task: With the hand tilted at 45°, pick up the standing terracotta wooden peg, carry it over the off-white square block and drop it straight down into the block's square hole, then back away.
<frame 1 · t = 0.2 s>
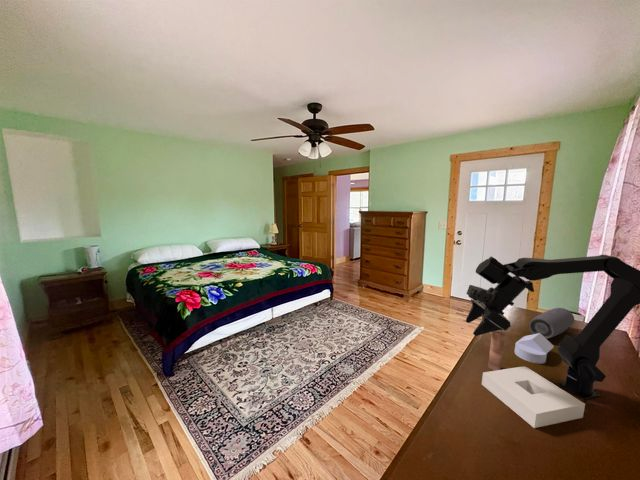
hand: (470, 328, 84), 15 cm above the dresser, tool tilted 35°, fingers open, 9 cm apart
wedge on round base: (531, 354, 96), on the dresser
hole block: (528, 399, 74), on the dresser
bluetooth speaker: (550, 334, 112), on the dresser
peg: (494, 367, 88), on the dresser
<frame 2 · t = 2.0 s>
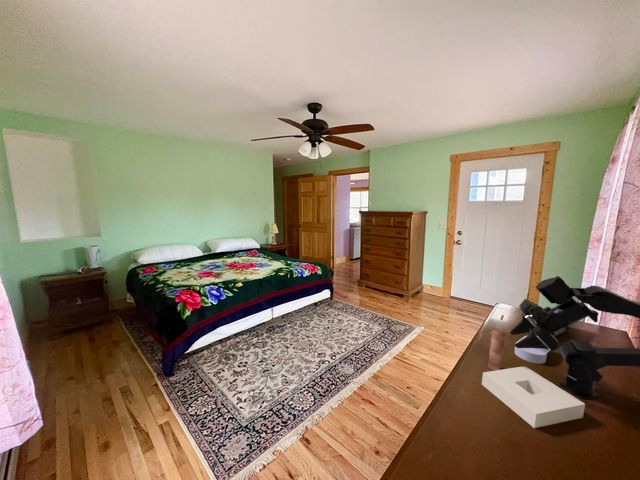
hand: (513, 339, 84), 11 cm above the dresser, tool tilted 45°, fingers open, 9 cm apart
nothing on the dresser moved.
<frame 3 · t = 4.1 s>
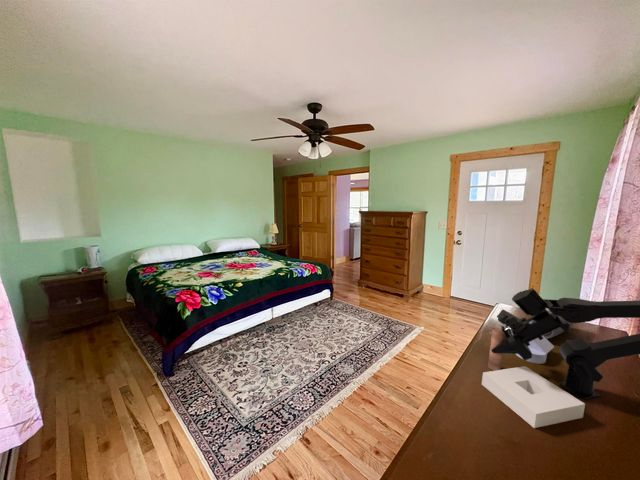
hand: (491, 348, 88), 7 cm above the dresser, tool tilted 45°, fingers closed on peg, 4 cm apart
peg: (494, 367, 88), on the dresser, touching gripper
everything else where it was.
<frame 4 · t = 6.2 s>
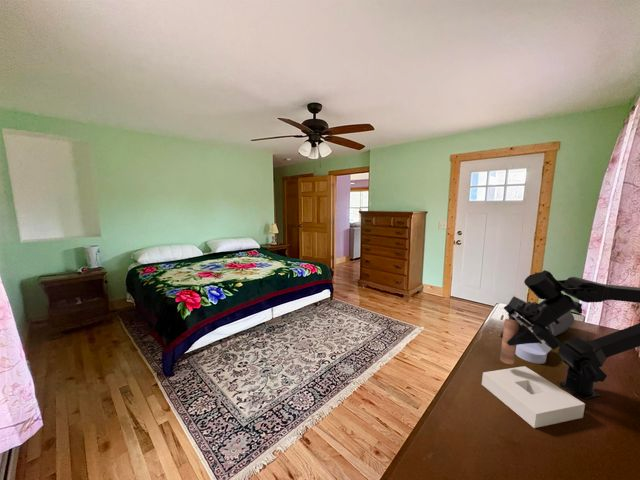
hand: (504, 340, 80), 14 cm above the dresser, tool tilted 45°, fingers closed on peg, 4 cm apart
peg: (507, 360, 80), point 7 cm above the dresser, touching gripper
everything else where it was.
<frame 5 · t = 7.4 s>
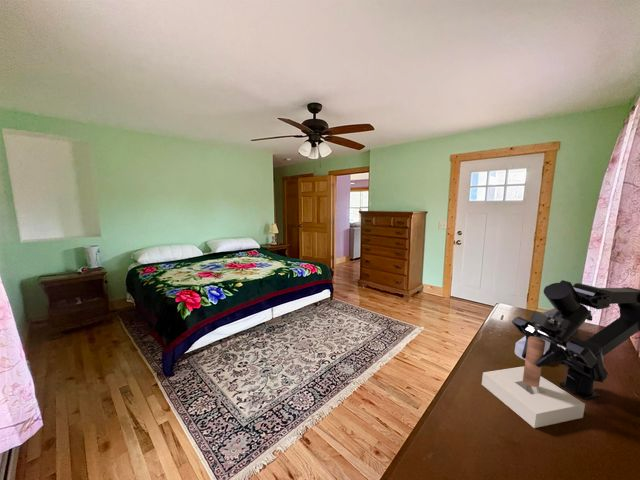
hand: (529, 361, 72), 12 cm above the dresser, tool tilted 45°, fingers closed on peg, 4 cm apart
peg: (530, 382, 73), point 5 cm above the dresser, touching gripper
everything else where it was.
when the fingers open (8 cm above the dresser, at t = 8.5 s): peg drops 1 cm, resting in hole block.
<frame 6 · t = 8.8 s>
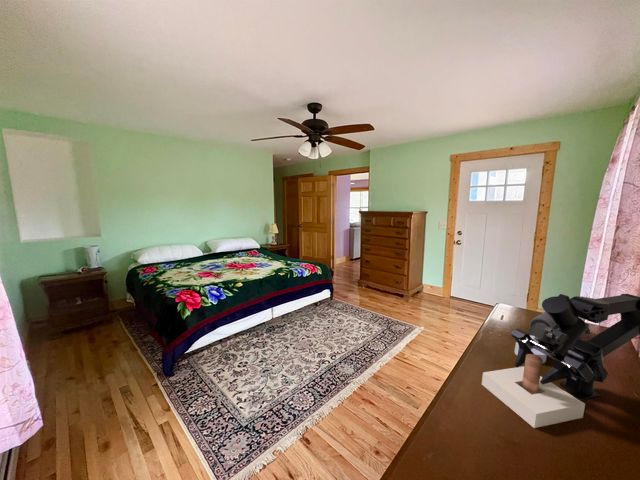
hand: (527, 374, 72), 8 cm above the dresser, tool tilted 45°, fingers open, 7 cm apart
peg: (528, 399, 74), resting in hole block
everything else where it was.
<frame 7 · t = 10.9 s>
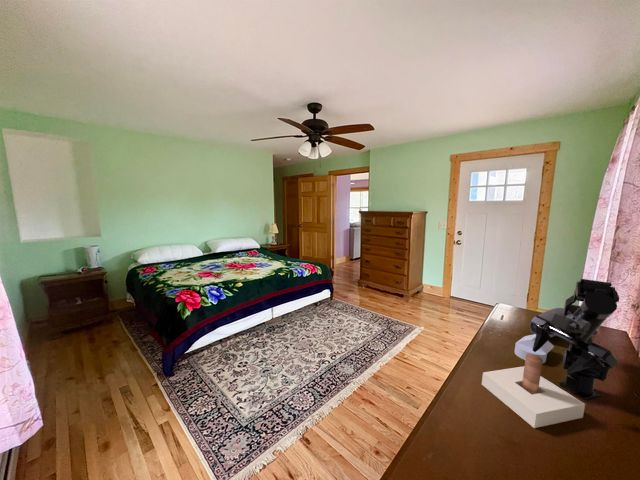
hand: (549, 361, 74), 11 cm above the dresser, tool tilted 40°, fingers open, 9 cm apart
nothing on the dresser moved.
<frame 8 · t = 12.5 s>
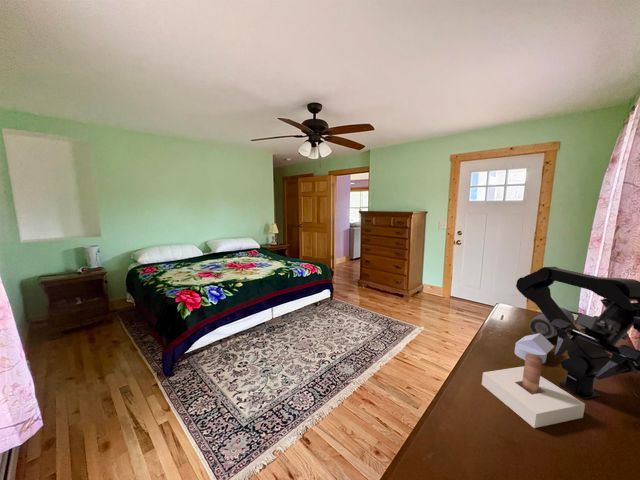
hand: (574, 366, 67), 14 cm above the dresser, tool tilted 45°, fingers open, 9 cm apart
nothing on the dresser moved.
at the end: peg 0.0 cm off-centre on the hole block, point 0.0 cm above the hole block's base; peg tilted 0°; the gripper is holding nothing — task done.
